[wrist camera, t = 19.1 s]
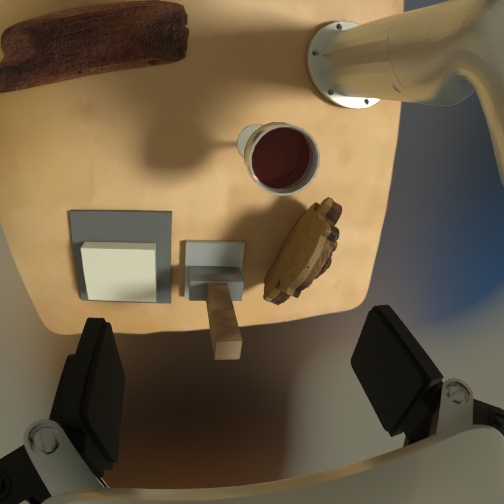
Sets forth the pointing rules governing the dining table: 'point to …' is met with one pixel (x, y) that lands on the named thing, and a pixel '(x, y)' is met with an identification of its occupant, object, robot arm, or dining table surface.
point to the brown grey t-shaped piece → (219, 305)
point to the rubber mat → (125, 240)
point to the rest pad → (212, 255)
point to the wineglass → (279, 157)
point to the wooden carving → (304, 252)
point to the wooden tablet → (92, 42)
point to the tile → (120, 271)
